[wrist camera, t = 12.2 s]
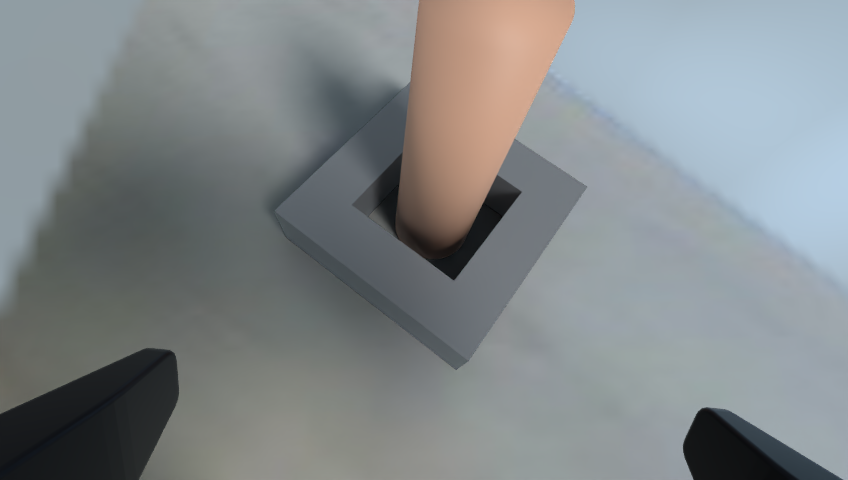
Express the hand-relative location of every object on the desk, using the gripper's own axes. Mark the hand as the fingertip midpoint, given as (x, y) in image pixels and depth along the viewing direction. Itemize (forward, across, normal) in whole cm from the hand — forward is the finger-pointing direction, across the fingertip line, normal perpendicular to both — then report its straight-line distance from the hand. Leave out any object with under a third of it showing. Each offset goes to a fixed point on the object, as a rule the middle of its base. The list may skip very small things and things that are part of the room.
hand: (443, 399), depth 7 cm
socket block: (+17, -1, +3) cm, 17 cm away
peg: (+17, -1, +3) cm, 17 cm away
